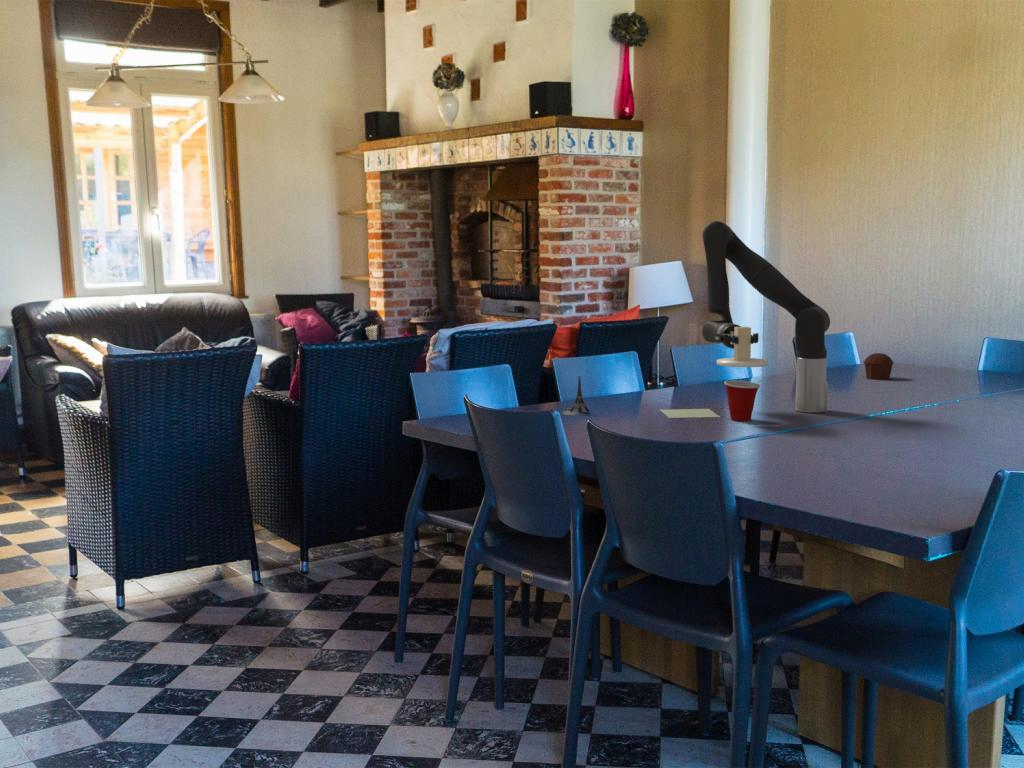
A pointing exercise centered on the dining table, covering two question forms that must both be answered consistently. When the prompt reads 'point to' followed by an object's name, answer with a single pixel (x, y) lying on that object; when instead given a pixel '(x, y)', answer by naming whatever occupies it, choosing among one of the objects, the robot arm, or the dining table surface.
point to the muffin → (878, 366)
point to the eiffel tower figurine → (577, 404)
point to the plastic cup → (741, 399)
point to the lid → (742, 351)
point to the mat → (689, 413)
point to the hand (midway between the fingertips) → (744, 340)
